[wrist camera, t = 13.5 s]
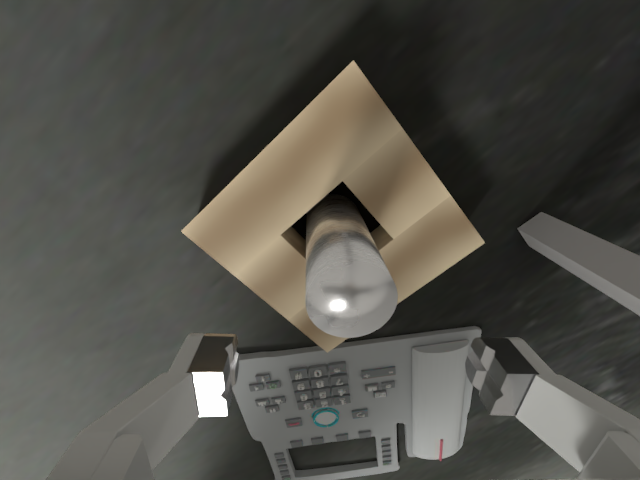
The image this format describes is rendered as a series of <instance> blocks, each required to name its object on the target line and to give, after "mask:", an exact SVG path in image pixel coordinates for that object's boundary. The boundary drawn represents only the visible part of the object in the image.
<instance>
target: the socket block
mask: <svg viewBox="0 0 640 480" xmlns="http://www.w3.org/2000/svg"><path fill="white" fill-rule="evenodd" d="M342 181H343V182H344V183H345V184H346V185H347V187H348V188H349V189H350V190H351V191H352V192H353V193H354V195H355V196H356V197H357V198H358V199H359V200H360V202H361V203H362V204H363V205H364V206H365V207H366V208H367V210H368V211H369V212H370V213H371V214H372V215H373V216H374V218H375V219H376V220H377V221H378V222H379V223H380V226H378V227H377V228H376V229H375V230H373V231H372V232H371V233H370V234H371V236H372V238H373V240H374V242H375V244H376V246H377V248H378V250H379V252H380V254H381V256H382V259H383V261H384V263H385V265H386V267H387V269H388V271H389V273H390V275H391V277H392V279H393V281H394V283H395V285H396V288H397V293H398V300H397V304H398V303H400V302H401V301H402V300H404V299H405V298H407V297H408V296H410V295H411V294H412V293H414V292H415V291H417V290H418V289H420V288H421V287H423V286H424V285H425V284H427V283H428V282H430V281H431V280H433V279H434V278H435V277H437V276H438V275H440V274H441V273H443V272H444V271H445V270H447V269H448V268H450V267H451V266H453V265H454V264H456V263H457V262H458V261H460V260H461V259H463V258H464V257H466V256H467V255H468V254H470V253H471V252H473V251H474V250H476V249H477V248H478V247H480V246H481V245H483V244H484V243H485V242H484V241H483V239H482V238H481V236H480V235H479V234H478V232H477V231H476V229H475V228H474V227H473V225H472V224H471V223H470V221H469V220H468V218H467V217H466V216H465V214H464V213H463V211H462V210H461V209H460V207H459V206H458V204H457V203H456V202H455V200H454V199H453V198H452V196H451V195H450V193H449V192H448V191H447V189H446V188H445V186H444V185H443V184H442V182H441V181H440V180H439V178H438V177H437V175H436V174H435V173H434V171H433V170H432V168H431V167H430V166H429V164H428V163H427V161H426V160H425V159H424V157H423V156H422V155H421V153H420V152H419V150H418V149H417V148H416V146H415V145H414V143H413V142H412V141H411V139H410V138H409V137H408V135H407V134H406V132H405V131H404V130H403V128H402V127H401V125H400V124H399V123H398V121H397V120H396V118H395V117H394V116H393V114H392V113H391V112H390V110H389V109H388V107H387V106H386V105H385V103H384V102H383V100H382V99H381V98H380V96H379V95H378V94H377V92H376V91H375V89H374V88H373V87H372V85H371V84H370V82H369V81H368V80H367V78H366V77H365V75H364V74H363V73H362V71H361V70H360V69H359V67H358V66H357V64H356V63H355V62H354V60H353V61H352V62H351V63H350V64H349V65H348V66H347V67H346V68H345V69H344V70H343V71H342V72H341V73H340V74H339V75H338V76H337V77H336V78H335V79H334V80H333V81H332V82H331V83H330V84H329V85H328V86H327V87H326V88H325V89H324V90H323V91H322V92H321V93H320V94H319V95H318V96H317V97H316V98H315V99H314V100H313V101H312V102H311V103H310V104H309V105H308V106H307V107H306V108H305V109H304V110H303V111H302V112H301V113H300V114H299V115H298V116H297V117H296V118H295V119H294V120H293V121H292V122H291V123H290V124H289V125H288V126H287V127H286V128H285V129H284V130H283V131H282V132H281V133H280V134H279V135H278V136H277V137H275V138H274V139H273V140H272V141H271V142H270V143H269V144H268V145H267V146H266V147H265V148H264V149H263V150H262V151H261V152H260V153H259V154H258V155H257V156H256V157H255V158H254V159H253V160H252V161H251V162H250V163H249V164H248V165H247V166H246V167H245V168H244V169H243V170H242V171H241V172H240V173H239V174H238V175H237V176H236V177H235V178H234V179H233V180H232V181H231V182H230V183H229V184H228V185H227V186H226V187H225V188H224V189H223V190H222V191H221V192H220V193H219V194H218V195H217V196H216V197H215V198H214V199H213V200H212V201H211V202H210V203H209V204H208V205H207V206H206V207H205V208H204V209H203V210H202V211H201V212H200V213H199V214H198V215H197V216H196V217H195V218H194V219H193V220H192V221H191V222H190V223H189V224H188V225H187V226H186V227H185V228H184V229H183V230H182V231H181V232H182V233H183V234H185V235H186V236H187V237H188V238H189V239H191V240H192V241H193V242H194V243H195V244H197V245H198V246H199V247H200V248H201V249H203V250H204V251H205V252H206V253H208V254H209V255H210V256H211V257H212V258H214V259H215V260H216V261H217V262H218V263H220V264H221V265H222V266H223V267H224V268H226V269H227V270H228V271H229V272H230V273H232V274H233V275H234V276H235V277H236V278H238V279H239V280H240V281H241V282H242V283H244V284H245V285H246V286H247V287H249V288H250V289H251V290H252V291H253V292H255V293H256V294H257V295H258V296H259V297H261V298H262V299H263V300H264V301H265V302H267V303H268V304H269V305H270V306H271V307H273V308H274V309H275V310H276V311H277V312H279V313H280V314H281V315H282V316H283V317H285V318H286V319H287V320H288V321H290V322H291V323H292V324H293V325H294V326H296V327H297V328H298V329H299V330H300V331H302V332H303V333H304V334H305V335H306V336H308V337H309V338H310V339H311V340H312V341H314V342H315V343H316V344H317V345H318V346H320V347H321V348H322V349H323V350H325V351H326V352H327V353H328V352H329V351H331V350H332V349H334V348H335V347H336V346H338V345H339V344H341V343H342V342H344V341H345V340H346V339H348V338H342V337H336V336H333V335H330V334H327V333H325V332H324V331H322V330H320V329H319V328H318V327H317V326H316V325H315V324H314V323H313V322H312V321H311V319H310V318H309V316H308V313H307V310H306V303H305V293H306V240H305V239H304V238H303V237H302V236H301V235H300V234H299V233H298V232H297V231H296V230H295V229H294V228H293V227H292V225H293V224H294V223H295V222H296V221H297V220H298V219H300V218H301V217H302V216H303V215H304V214H305V213H307V212H308V211H309V210H310V209H311V208H312V207H313V206H315V205H316V204H317V203H318V202H319V201H320V200H321V199H323V198H324V197H325V196H326V195H327V194H328V193H329V192H331V191H332V190H333V189H334V188H335V187H336V186H337V185H339V184H340V183H341V182H342Z"/></svg>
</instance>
